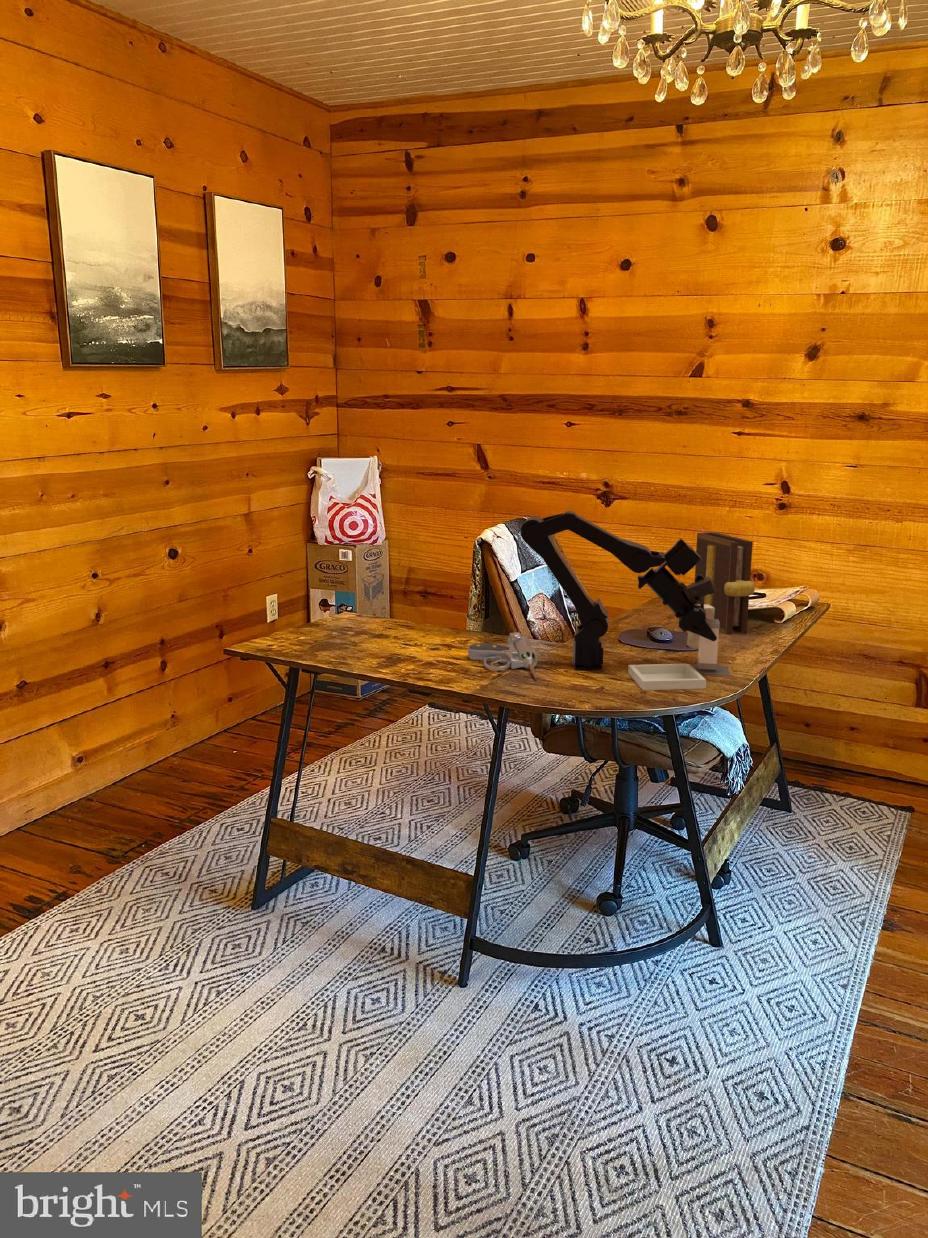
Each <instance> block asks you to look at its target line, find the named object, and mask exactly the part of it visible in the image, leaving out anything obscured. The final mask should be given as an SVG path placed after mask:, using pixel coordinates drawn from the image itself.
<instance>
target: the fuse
mask: <svg viewBox="0 0 928 1238" xmlns="http://www.w3.org/2000/svg"><path fill="white" fill-rule="evenodd" d="M705 620H706V622H707V623H708V625H709V626H710V628H711V629H712V631H713V632H714V634H715V635H716V637H717V639H716V640H715V641H711V640H709V639H707V638H704V637H702V636H700V635H699V649H698V654H697V661H696V665H698V669H709V670H717V666H718V649H719V634H720V632H719V628H720V623H719V619H705Z"/></svg>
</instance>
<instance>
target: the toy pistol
mask: <svg viewBox="0 0 928 1238" xmlns="http://www.w3.org/2000/svg"><path fill="white" fill-rule="evenodd" d="M467 654H468V659H469V658H470V659H473V660H472V661H474V660H481V661H480V662H483V661H484V662H483V666H484V667H485V669H488V670H492V671H502V670H506V669H508V668H509V669H511V670H515V669H518V668H525V669H526V670H530V671H531V674H532V675H533V677H534V679H535V680H537V679H538V676H537V672H536V670H535V667H536V666H537V663H538V657H537V654H536V652H535V651H534V649H533V647H532V646H531V643H530V641H529V636H527V635H522V634H521V633H520V632H519V631H517V632H516V631H515V632H509V637H508V638H507V644H501V643H500V644H499V643H484V642H481V643H479V642H478V643H477V642H476V643H472V644H470V645H469V646H468V647H467ZM470 659H469V660H470ZM488 661H494V662H490V665H489V664H488V663H489V662H488ZM498 662H500V663H498ZM502 663H503V665H501V666H496V665H495V664H502ZM505 664H506V665H505ZM494 665H495V666H494ZM510 667H511V668H510Z"/></svg>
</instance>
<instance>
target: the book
mask: <svg viewBox="0 0 928 1238" xmlns="http://www.w3.org/2000/svg"><path fill="white" fill-rule="evenodd" d="M753 544H754V541H752V540H749V539H744V538H740V537H736V536H732V535H727V534H725V533H720V532H713V531H712V532H711V531H710V532H696V546H695V547H696V548H695V549H696V550H695V551H696V552H697V553H698V554H699V555H700V557H701V558H702V560H701V561H700V562H699V563H697V564H696V565H695V566H694V577H695V576H697V575H699V574H701V575H702V576H704V577H705V578H706V577H707V576H708V577H710V578H711V581H712V583H713V586H714V588H715V591H716V592H715V593H713V594H711V595H710V594H708V595H706V596H703V597H701V598H702V601H701V602H699V601H698V602H697V603H696V604H695V605H701V604H702V603H703V604H704V605H705V604H708V605H710V606H712V607H714V608H715V612H714V619H719V623H720V628H719V633H722V634H724V635H726V636H727V635H728V636H729V635H730V636H731V635H733V631H734V632H737V633H740V634H747V632H748V618H749V617H748V616H749V604H750V596H752V595H754V594H755V589H756V588H755V587H756V585H755V583H754V582H753V581H752V580H751V575H752V559H753Z"/></svg>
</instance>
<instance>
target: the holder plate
mask: <svg viewBox="0 0 928 1238" xmlns="http://www.w3.org/2000/svg"><path fill="white" fill-rule="evenodd" d="M688 664H689V663H688ZM689 665H690V666H692V667H693V668H694V669H695V670H696V671H697V672H698V673H699V674H701V675H708V676H711V675H712V676H730V677H731V672H730V669H729V666H728V665H717V670H709V669H698V665H697V663H695V664H691V663H690V664H689Z"/></svg>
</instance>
